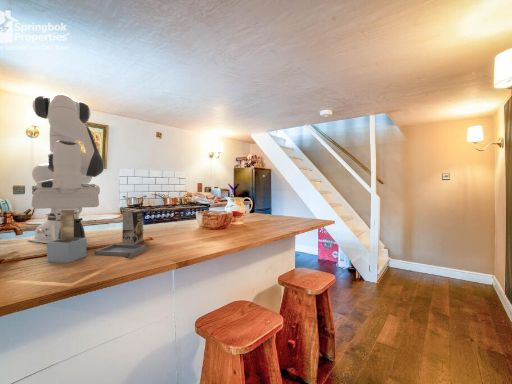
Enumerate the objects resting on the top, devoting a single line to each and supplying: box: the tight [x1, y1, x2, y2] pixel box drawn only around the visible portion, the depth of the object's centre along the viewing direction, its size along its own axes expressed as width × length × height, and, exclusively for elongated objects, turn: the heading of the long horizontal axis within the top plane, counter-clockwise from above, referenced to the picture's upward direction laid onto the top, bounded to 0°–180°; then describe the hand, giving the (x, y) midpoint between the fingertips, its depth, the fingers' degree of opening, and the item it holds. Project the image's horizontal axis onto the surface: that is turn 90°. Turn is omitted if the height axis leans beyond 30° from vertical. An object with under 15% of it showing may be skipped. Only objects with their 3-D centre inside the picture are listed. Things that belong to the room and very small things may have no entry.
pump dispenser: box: [57, 217, 87, 240], centre depth 108 cm, size 10×10×15 cm
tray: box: [94, 243, 147, 259], centre depth 105 cm, size 15×12×2 cm
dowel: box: [60, 209, 74, 243], centre depth 93 cm, size 4×4×13 cm
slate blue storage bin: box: [46, 237, 87, 264], centre depth 93 cm, size 8×8×8 cm
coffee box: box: [121, 210, 144, 245], centre depth 123 cm, size 9×6×16 cm
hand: (67, 219), depth 93 cm, fingers closed on dowel, 4 cm apart
